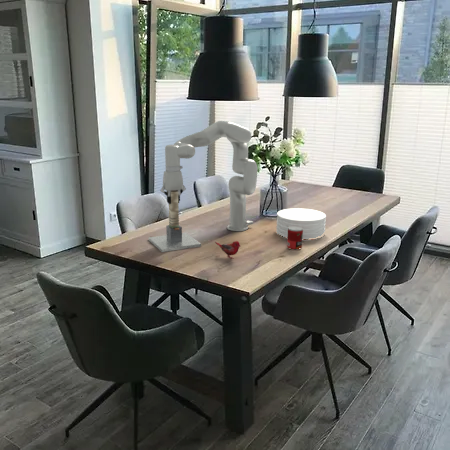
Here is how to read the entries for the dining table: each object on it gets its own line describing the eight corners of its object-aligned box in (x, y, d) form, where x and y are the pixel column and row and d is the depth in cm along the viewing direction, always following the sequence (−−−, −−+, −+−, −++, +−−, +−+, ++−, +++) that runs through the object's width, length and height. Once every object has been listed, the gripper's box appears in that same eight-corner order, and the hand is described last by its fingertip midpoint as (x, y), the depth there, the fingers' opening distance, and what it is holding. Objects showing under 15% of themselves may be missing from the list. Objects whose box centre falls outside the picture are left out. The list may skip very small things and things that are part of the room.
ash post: (176, 226, 271) (175, 190, 265) (179, 228, 268) (178, 191, 262) (169, 227, 269) (168, 190, 264) (171, 229, 266) (171, 192, 260)
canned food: (298, 251, 260) (299, 231, 257) (284, 248, 264) (285, 228, 261) (304, 247, 266) (305, 227, 263) (290, 244, 271) (291, 225, 267)
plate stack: (330, 230, 297) (332, 211, 294) (315, 243, 273) (317, 223, 270) (286, 224, 310) (287, 206, 306) (268, 235, 286) (269, 216, 283)
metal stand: (185, 235, 285) (185, 219, 282) (201, 246, 266) (201, 229, 264) (148, 240, 276) (147, 223, 273) (161, 252, 257) (161, 234, 254)
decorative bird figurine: (238, 262, 244) (238, 242, 241) (212, 253, 255) (212, 235, 252) (242, 260, 246) (242, 241, 243) (216, 252, 257) (216, 233, 254)
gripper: (185, 166, 266) (185, 200, 271) (155, 168, 259) (156, 203, 264) (190, 168, 260) (190, 203, 265) (159, 171, 253) (160, 206, 258)
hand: (173, 202), depth 265 cm, fingers closed on ash post, 4 cm apart
